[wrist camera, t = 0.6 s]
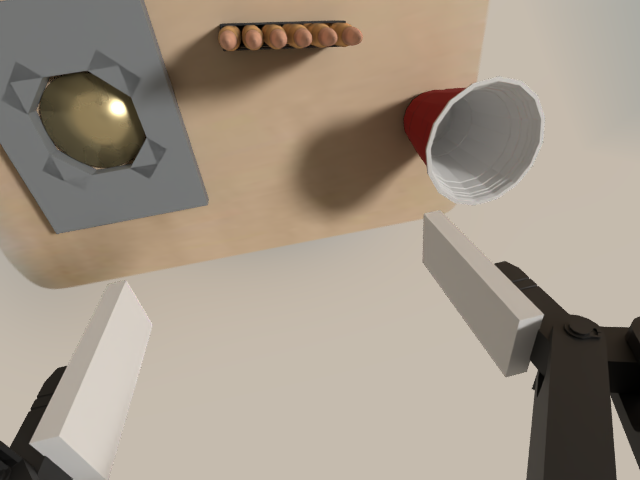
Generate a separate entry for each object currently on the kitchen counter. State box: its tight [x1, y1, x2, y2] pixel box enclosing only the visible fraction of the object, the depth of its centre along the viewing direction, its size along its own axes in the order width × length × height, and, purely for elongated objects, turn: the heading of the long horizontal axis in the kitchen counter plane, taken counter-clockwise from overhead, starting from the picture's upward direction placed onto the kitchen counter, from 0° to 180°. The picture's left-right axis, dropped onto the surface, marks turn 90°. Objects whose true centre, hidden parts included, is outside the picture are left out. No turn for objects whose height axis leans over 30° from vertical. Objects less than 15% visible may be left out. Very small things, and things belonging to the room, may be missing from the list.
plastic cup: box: [404, 76, 545, 205], centre depth 35 cm, size 11×11×12 cm
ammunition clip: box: [218, 21, 363, 51], centre depth 28 cm, size 11×2×12 cm, turn 91°
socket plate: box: [0, 0, 209, 234], centre depth 34 cm, size 20×16×2 cm
